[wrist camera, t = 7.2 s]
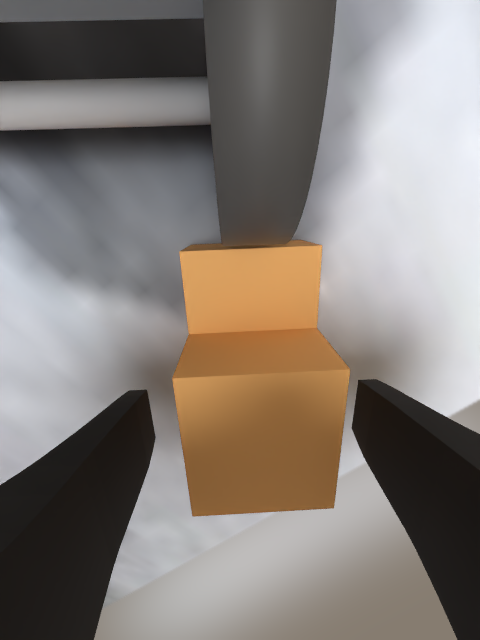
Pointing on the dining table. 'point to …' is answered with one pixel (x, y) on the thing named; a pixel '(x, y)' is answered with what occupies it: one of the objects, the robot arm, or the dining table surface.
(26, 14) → the trolley
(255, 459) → the block
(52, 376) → the dining table surface
